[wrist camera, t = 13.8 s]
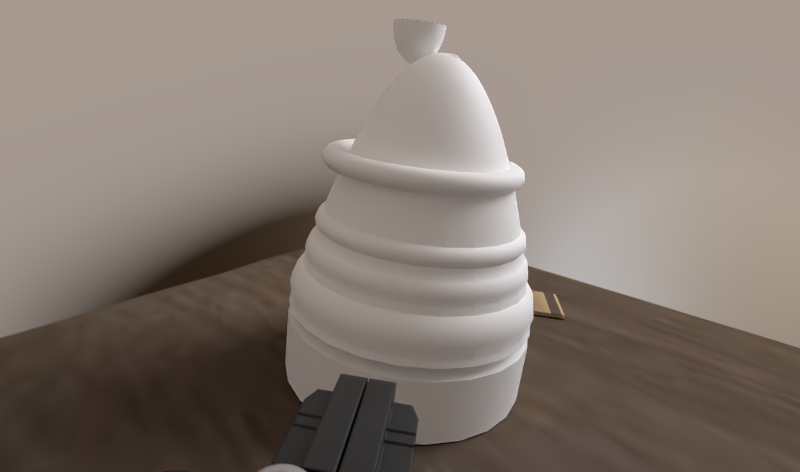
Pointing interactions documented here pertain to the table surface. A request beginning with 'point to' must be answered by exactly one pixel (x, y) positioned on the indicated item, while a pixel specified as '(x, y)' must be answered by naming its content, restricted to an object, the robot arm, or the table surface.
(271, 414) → the table surface
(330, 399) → the robot arm
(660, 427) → the table surface
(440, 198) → the honey pot
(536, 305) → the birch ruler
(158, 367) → the table surface
